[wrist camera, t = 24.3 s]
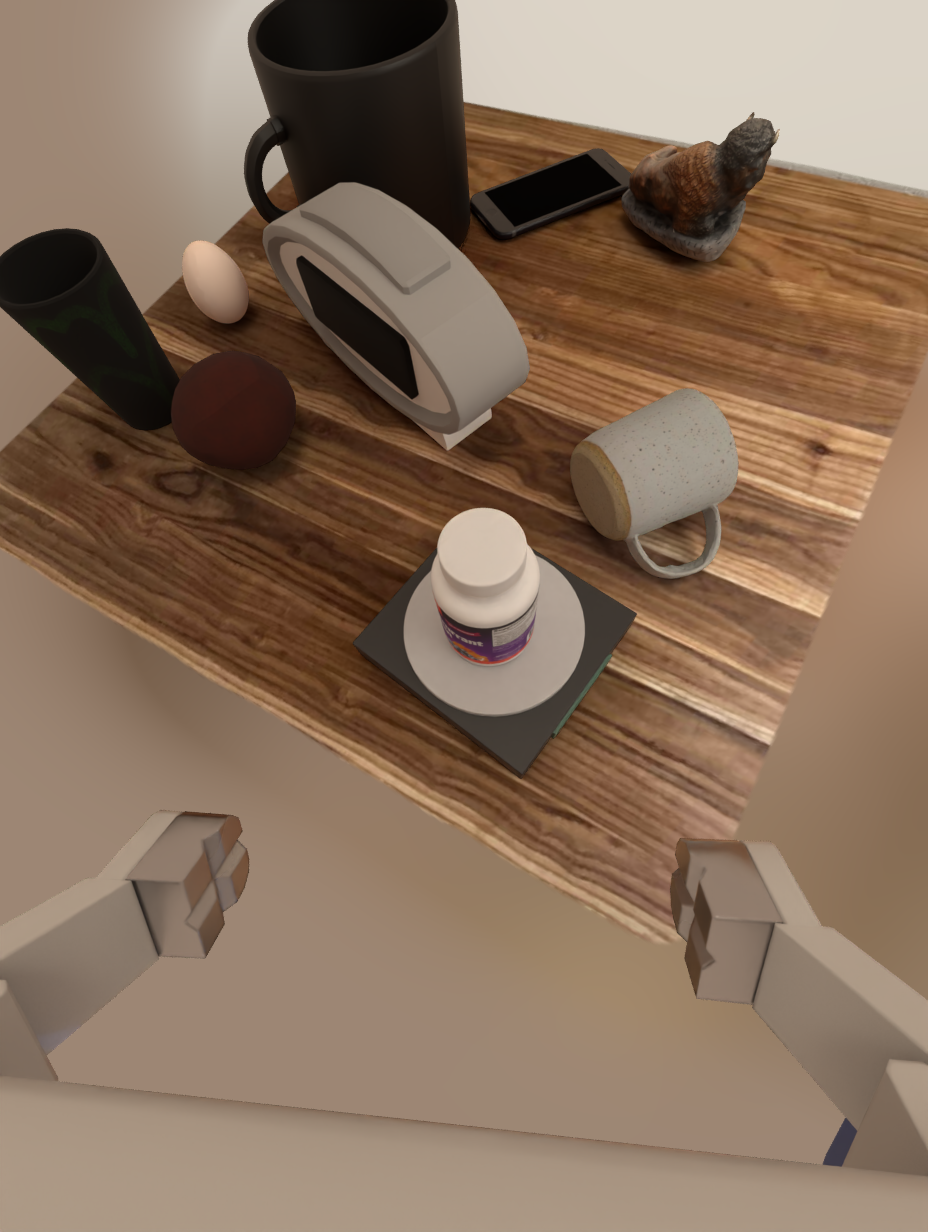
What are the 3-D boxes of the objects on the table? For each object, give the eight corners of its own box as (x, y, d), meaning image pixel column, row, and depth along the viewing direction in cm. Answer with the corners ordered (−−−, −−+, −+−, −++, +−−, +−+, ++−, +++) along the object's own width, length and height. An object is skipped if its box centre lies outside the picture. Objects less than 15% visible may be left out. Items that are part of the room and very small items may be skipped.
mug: (249, 248, 53) (159, 44, 40) (412, 163, 57) (381, -52, 43) (328, 333, 48) (255, 129, 34) (503, 233, 51) (501, 11, 37)
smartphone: (465, 203, 53) (465, 193, 52) (599, 153, 55) (600, 142, 54) (499, 246, 50) (499, 236, 49) (639, 191, 52) (641, 181, 51)
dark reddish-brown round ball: (184, 454, 43) (121, 379, 36) (276, 389, 46) (233, 305, 38) (240, 512, 41) (183, 443, 34) (334, 440, 43) (299, 360, 36)
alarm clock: (295, 330, 48) (226, 164, 36) (350, 295, 49) (300, 124, 38) (466, 482, 40) (449, 334, 29) (526, 436, 42) (533, 275, 30)
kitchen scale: (632, 628, 35) (642, 611, 32) (524, 781, 32) (525, 775, 29) (471, 527, 39) (469, 504, 36) (360, 654, 36) (349, 639, 33)
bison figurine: (602, 223, 51) (623, 85, 41) (659, 192, 52) (692, 50, 42) (696, 290, 46) (742, 152, 37) (755, 254, 47) (815, 111, 38)
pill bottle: (427, 620, 33) (397, 537, 24) (496, 570, 34) (491, 473, 25) (481, 687, 31) (470, 624, 22) (552, 632, 32) (569, 551, 23)
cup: (197, 362, 47) (103, 216, 36) (201, 427, 44) (100, 289, 33) (111, 383, 47) (-9, 243, 36) (110, 449, 44) (-22, 319, 33)
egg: (267, 303, 50) (234, 227, 44) (247, 340, 48) (208, 266, 42) (221, 297, 51) (181, 222, 44) (199, 334, 49) (154, 260, 43)
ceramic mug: (557, 487, 39) (569, 411, 32) (654, 444, 40) (686, 360, 33) (637, 606, 36) (670, 550, 28) (742, 555, 36) (799, 488, 29)
